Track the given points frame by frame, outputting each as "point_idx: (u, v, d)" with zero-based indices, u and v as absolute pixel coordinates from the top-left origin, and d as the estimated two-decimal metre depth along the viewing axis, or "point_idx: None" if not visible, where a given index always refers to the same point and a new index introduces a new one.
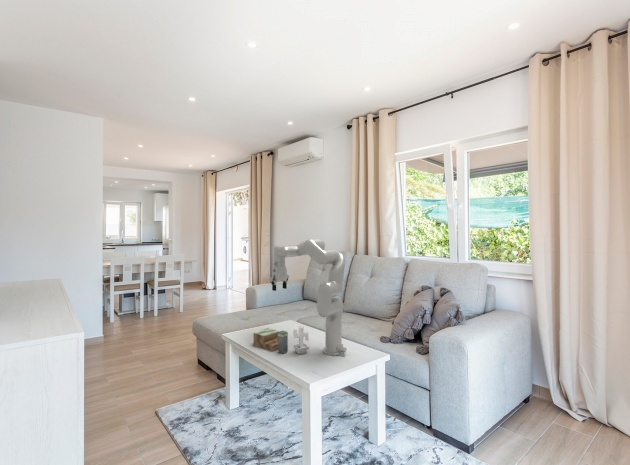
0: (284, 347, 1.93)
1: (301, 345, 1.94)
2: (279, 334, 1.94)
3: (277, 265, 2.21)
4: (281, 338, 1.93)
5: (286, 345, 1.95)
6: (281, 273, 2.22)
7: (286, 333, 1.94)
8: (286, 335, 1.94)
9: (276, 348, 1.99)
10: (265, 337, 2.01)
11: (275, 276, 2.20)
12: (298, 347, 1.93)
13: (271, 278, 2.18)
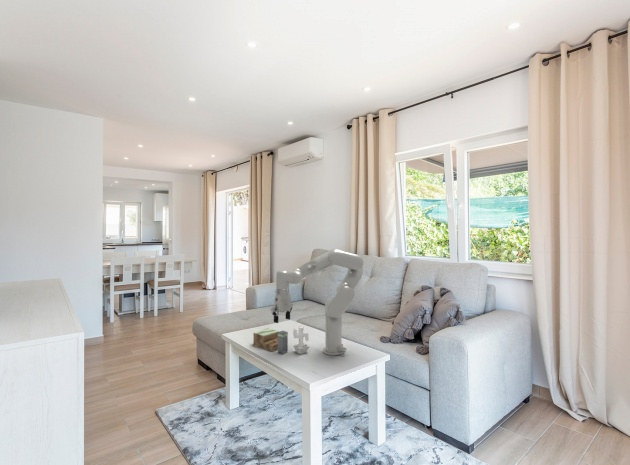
0: (284, 347, 1.93)
1: (301, 345, 1.94)
2: (279, 334, 1.94)
3: (280, 293, 1.91)
4: (281, 338, 1.93)
5: (286, 345, 1.95)
6: (284, 302, 1.92)
7: (286, 333, 1.94)
8: (286, 335, 1.94)
9: (276, 348, 1.99)
10: (265, 337, 2.01)
11: (277, 306, 1.90)
12: (298, 347, 1.93)
13: (273, 309, 1.88)
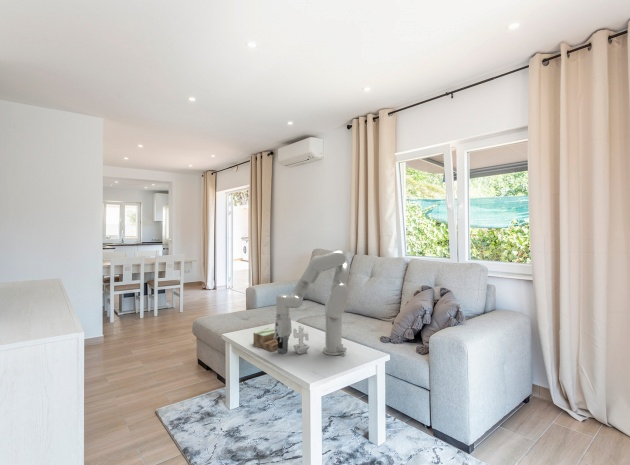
0: (284, 347, 1.93)
1: (301, 345, 1.94)
2: None
3: (280, 318, 1.91)
4: None
5: (286, 345, 1.95)
6: (285, 327, 1.92)
7: None
8: None
9: (276, 348, 1.99)
10: (265, 337, 2.01)
11: (278, 334, 1.90)
12: (298, 347, 1.93)
13: (275, 336, 1.90)
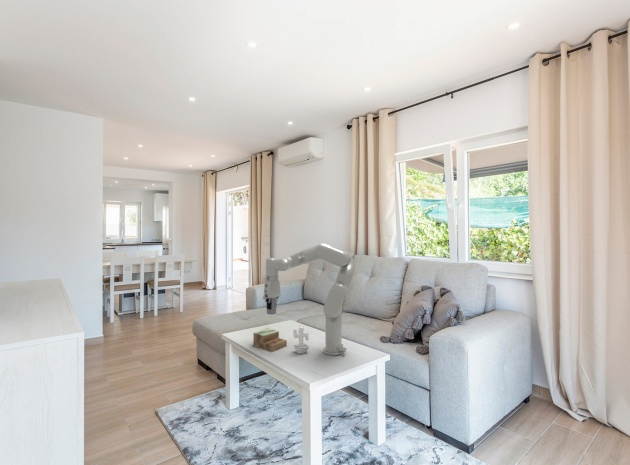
0: (273, 308, 2.01)
1: (301, 345, 1.94)
2: None
3: (269, 280, 1.99)
4: None
5: (275, 306, 2.03)
6: (274, 288, 2.01)
7: None
8: (275, 297, 2.03)
9: (276, 348, 1.99)
10: (265, 337, 2.01)
11: (267, 295, 1.98)
12: (298, 347, 1.93)
13: (264, 297, 1.98)
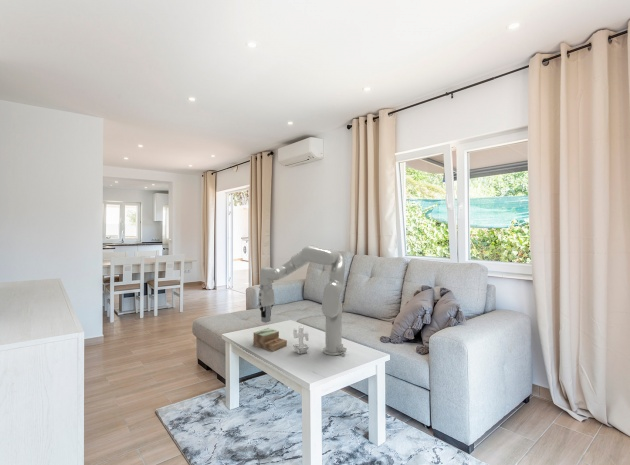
0: (267, 316, 2.07)
1: (301, 345, 1.94)
2: None
3: (263, 289, 2.04)
4: None
5: (269, 314, 2.08)
6: (268, 297, 2.06)
7: None
8: None
9: (276, 348, 1.99)
10: (265, 337, 2.01)
11: (261, 303, 2.03)
12: (298, 347, 1.93)
13: (258, 306, 2.03)
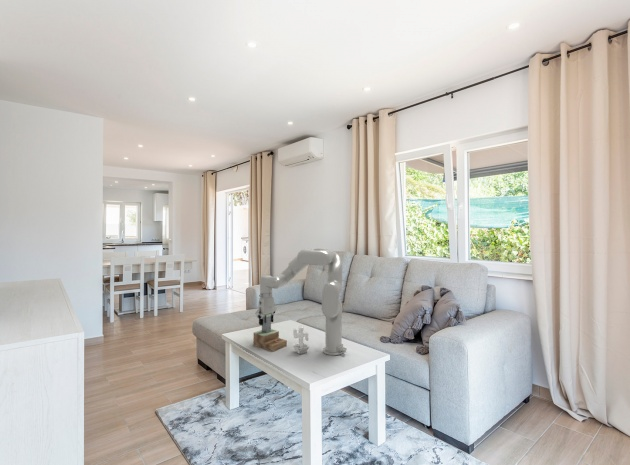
0: (267, 327, 2.07)
1: (301, 345, 1.94)
2: None
3: (263, 297, 2.04)
4: (265, 318, 2.06)
5: (270, 325, 2.08)
6: (268, 305, 2.06)
7: (269, 314, 2.08)
8: (269, 315, 2.08)
9: (276, 348, 1.99)
10: (265, 337, 2.01)
11: (261, 310, 2.03)
12: (298, 347, 1.93)
13: (257, 312, 2.02)
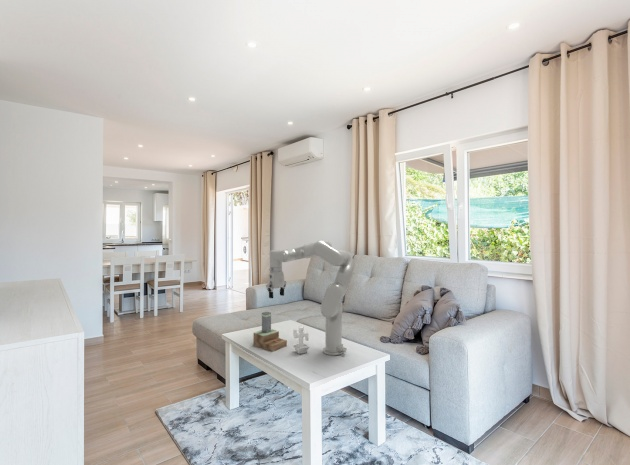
0: (267, 327, 2.07)
1: (301, 345, 1.94)
2: (263, 314, 2.07)
3: (274, 271, 2.07)
4: (265, 318, 2.06)
5: (270, 325, 2.08)
6: (278, 279, 2.08)
7: (269, 314, 2.08)
8: (269, 315, 2.08)
9: (276, 348, 1.99)
10: (265, 337, 2.01)
11: (272, 282, 2.05)
12: (298, 347, 1.93)
13: (267, 285, 2.04)
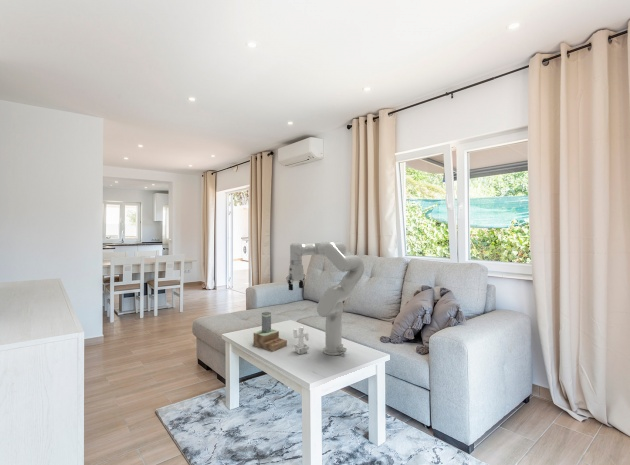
0: (267, 327, 2.07)
1: (301, 345, 1.94)
2: (263, 314, 2.07)
3: (294, 263, 2.11)
4: (265, 318, 2.06)
5: (270, 325, 2.08)
6: (298, 272, 2.13)
7: (269, 314, 2.08)
8: (269, 315, 2.08)
9: (276, 348, 1.99)
10: (265, 337, 2.01)
11: (292, 275, 2.10)
12: (298, 347, 1.93)
13: (288, 277, 2.09)
